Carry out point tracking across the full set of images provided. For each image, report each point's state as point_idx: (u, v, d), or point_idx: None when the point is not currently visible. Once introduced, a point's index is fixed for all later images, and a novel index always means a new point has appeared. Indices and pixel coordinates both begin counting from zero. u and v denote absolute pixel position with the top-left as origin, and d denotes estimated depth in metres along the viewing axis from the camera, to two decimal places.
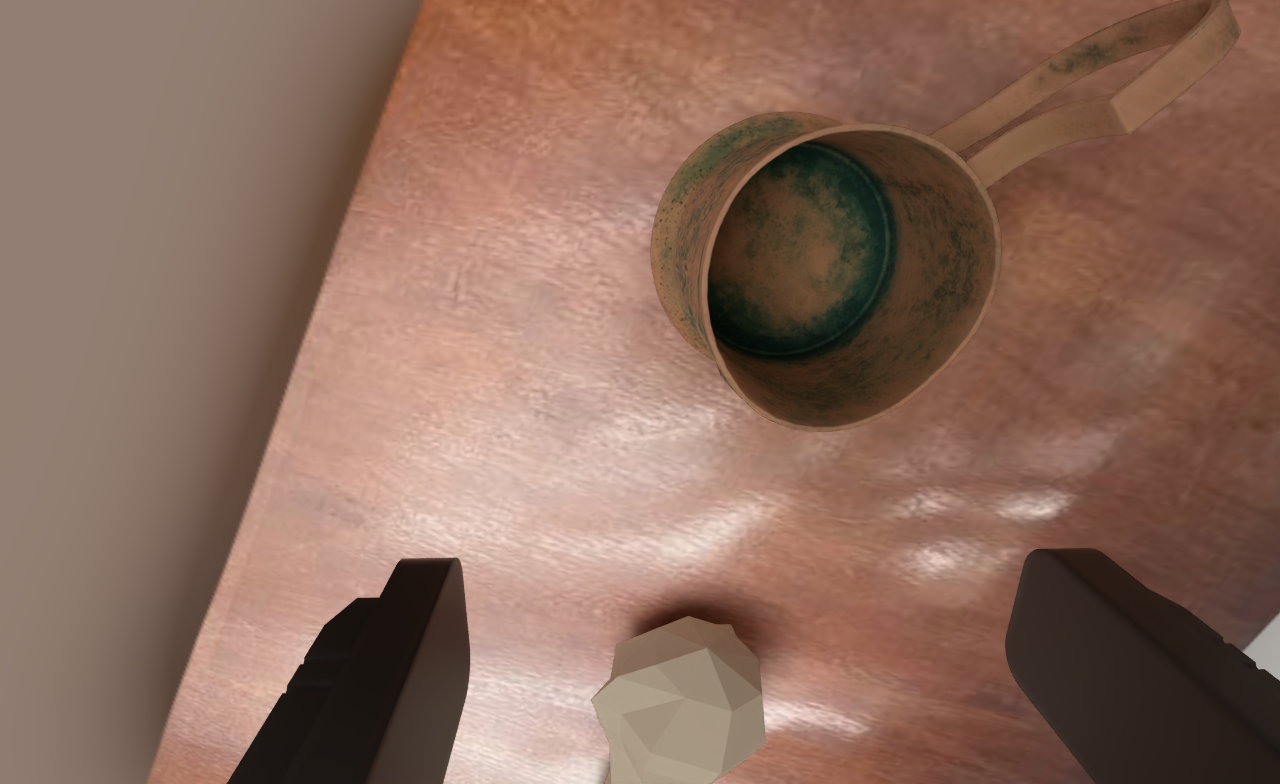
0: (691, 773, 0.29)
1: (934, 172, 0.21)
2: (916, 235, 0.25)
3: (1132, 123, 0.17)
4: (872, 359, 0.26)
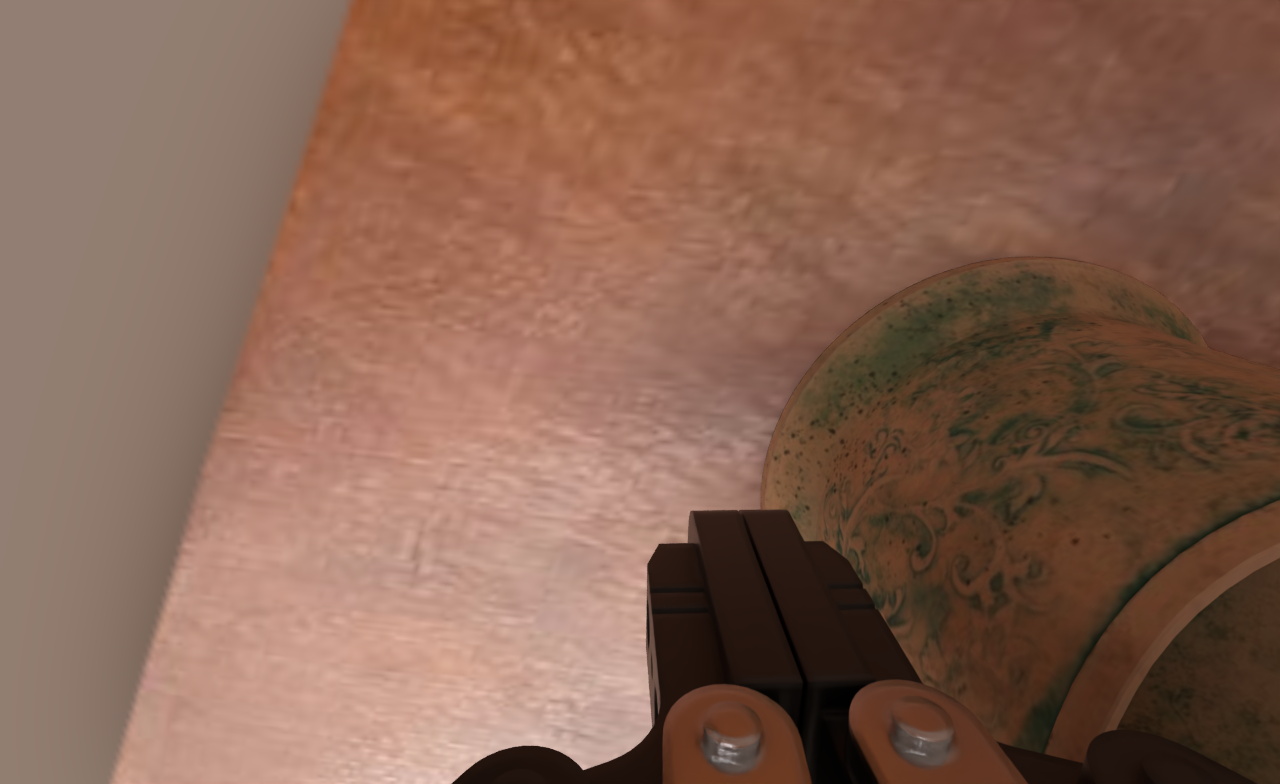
0: None
1: None
2: None
3: None
4: (1233, 766, 0.13)
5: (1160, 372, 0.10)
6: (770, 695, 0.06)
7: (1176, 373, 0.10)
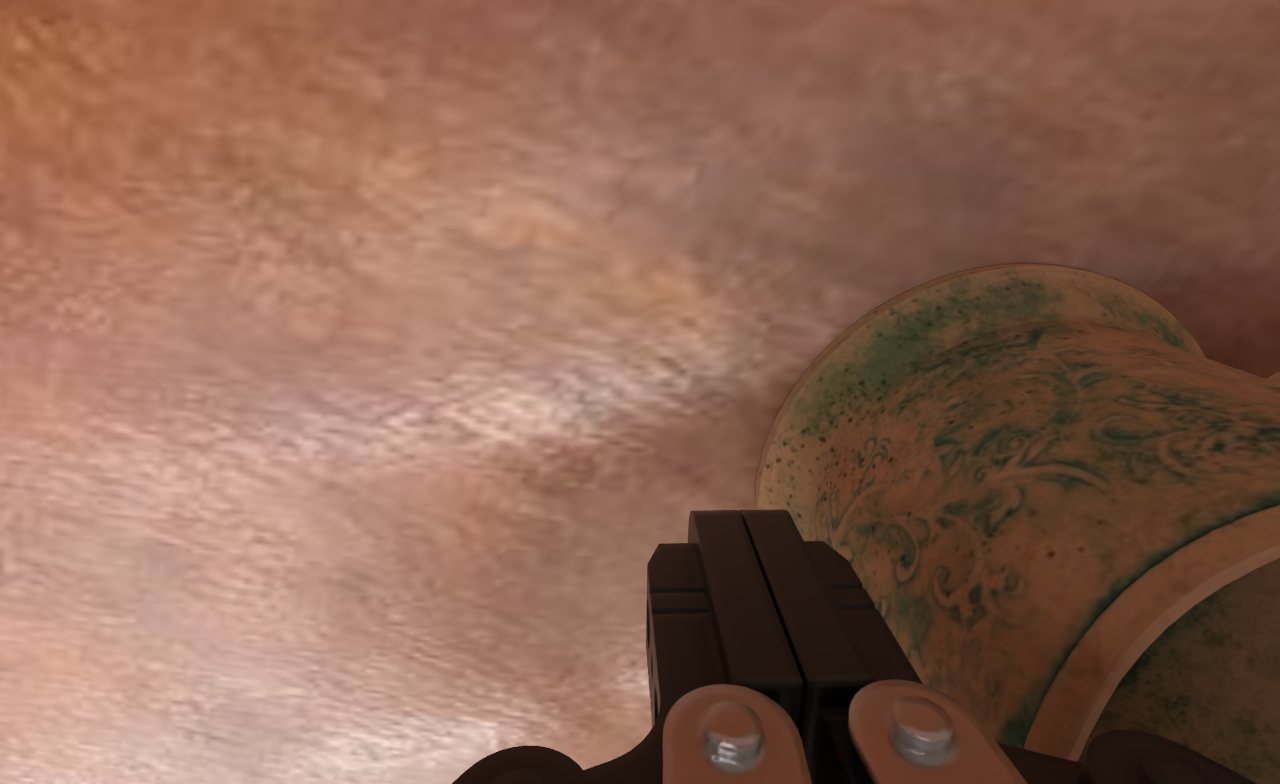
0: None
1: None
2: None
3: None
4: None
5: (1143, 382, 0.10)
6: (770, 695, 0.06)
7: (1158, 383, 0.10)
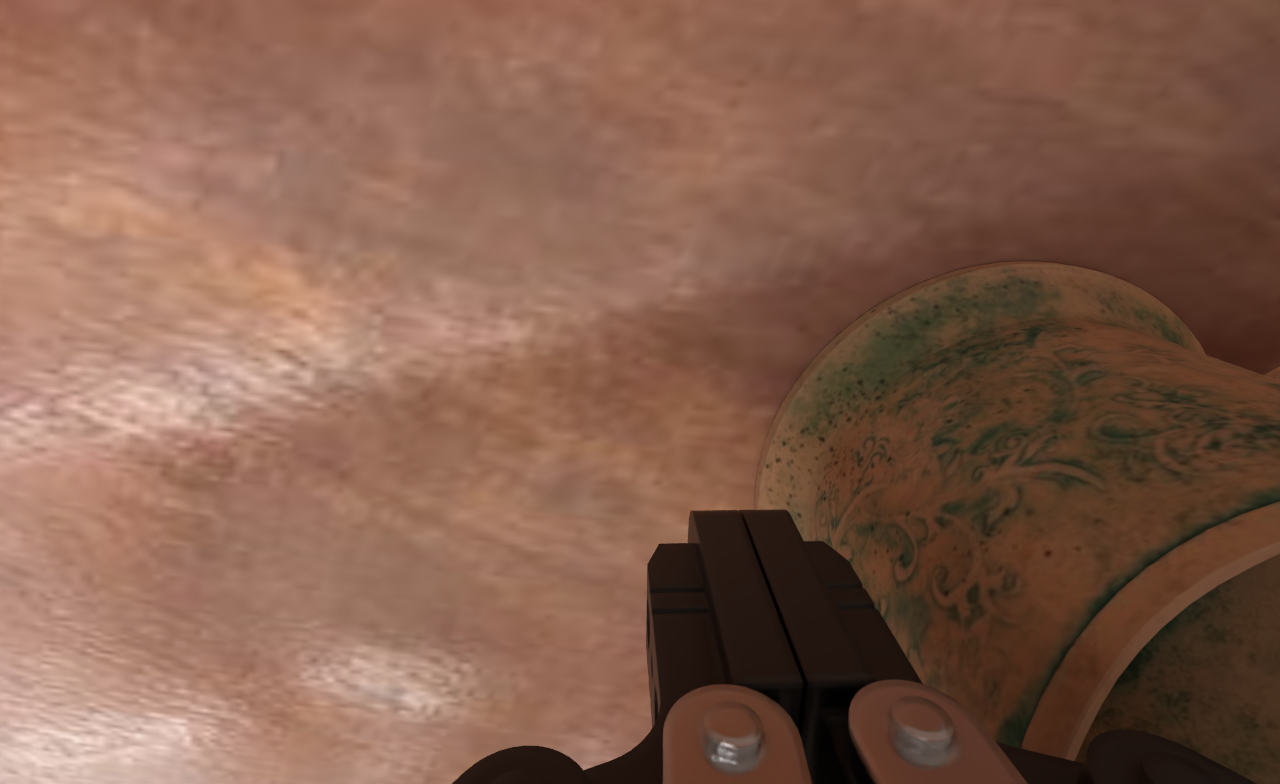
0: None
1: None
2: None
3: None
4: None
5: (1140, 380, 0.10)
6: (770, 695, 0.06)
7: (1155, 381, 0.10)
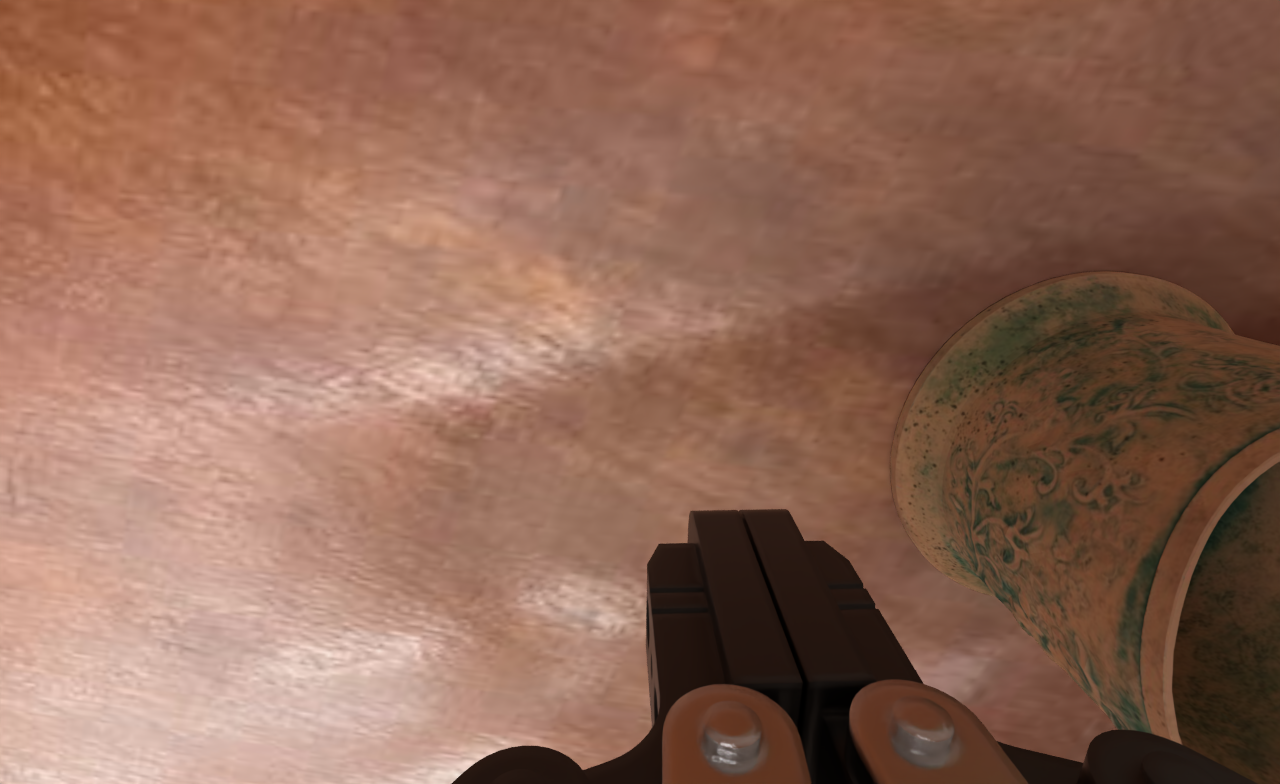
0: None
1: None
2: None
3: None
4: (1267, 639, 0.18)
5: (1206, 352, 0.15)
6: (770, 695, 0.06)
7: (1218, 352, 0.15)
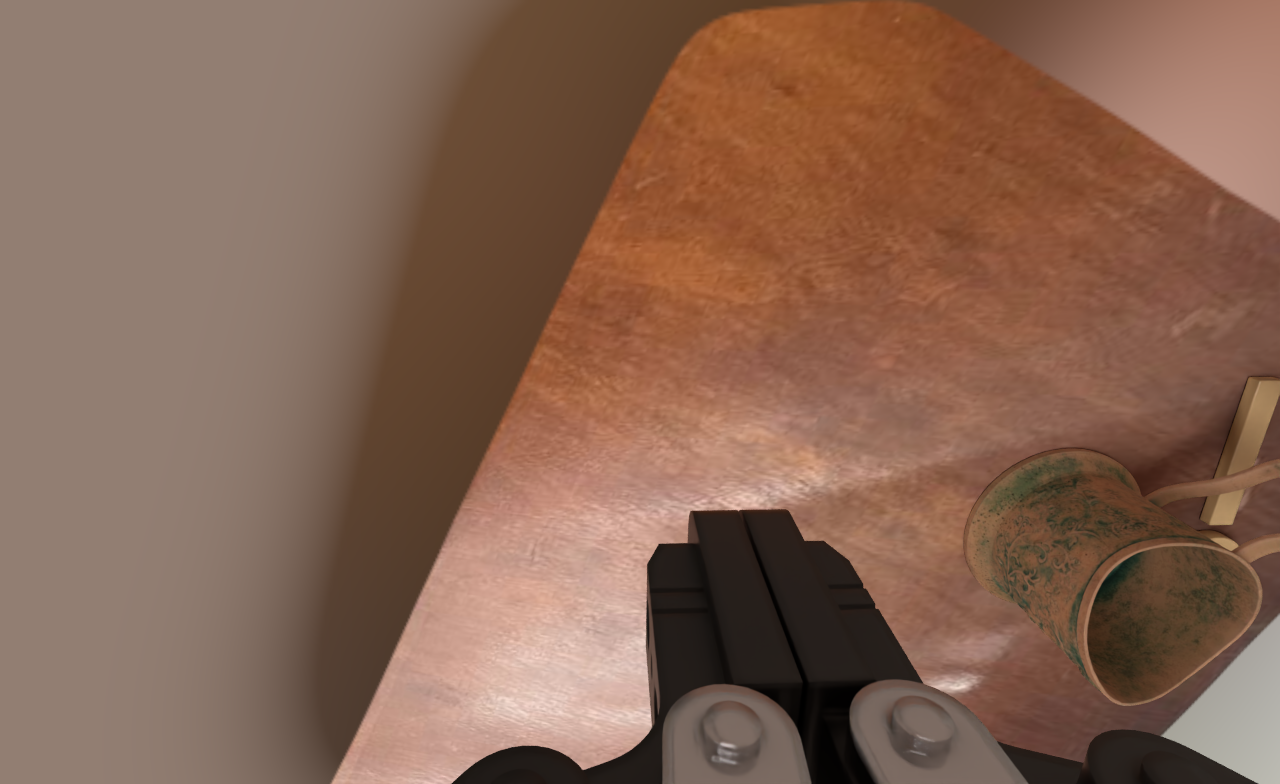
0: None
1: None
2: None
3: None
4: (1142, 624, 0.39)
5: (1108, 505, 0.36)
6: (769, 695, 0.06)
7: (1112, 505, 0.36)
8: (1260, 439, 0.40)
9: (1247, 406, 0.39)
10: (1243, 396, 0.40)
